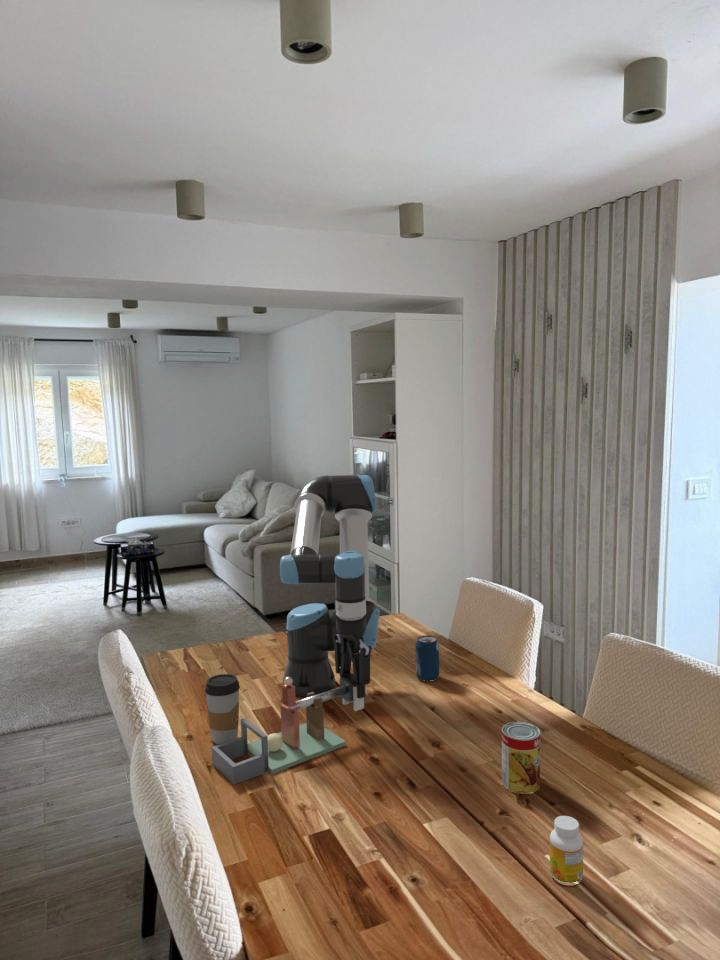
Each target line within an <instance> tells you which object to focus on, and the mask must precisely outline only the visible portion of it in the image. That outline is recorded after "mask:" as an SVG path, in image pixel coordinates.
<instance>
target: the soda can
mask: <svg viewBox="0 0 720 960" xmlns="http://www.w3.org/2000/svg"><path fill="white" fill-rule="evenodd" d="M414 649H415V675H416V678H417V679H418V678H419V679H420V680H419V679H418V680H419V681H421V680H425V681H430V680H435V679H436V680H437V679H438V678H439V676H440V643H439V642H438V638H437V637H436V636H433V635H420V636H418V637H417V639H416V642H415V648H414ZM436 680H435V681H436Z"/></svg>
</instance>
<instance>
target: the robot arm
mask: <svg viewBox="0 0 720 960" xmlns="http://www.w3.org/2000/svg"><path fill="white" fill-rule="evenodd" d="M293 509H294V513H295V520H294V527H293V534H292V538H291V539H292V540H291V547H290V552H289V553H290V554H287V555H282V556H281V558H280V559H279V561H280V563H279V576H280V580H281V582H282V583H283V584H289V585H307V584H308V585H311V584H314V585H315V584H334V593H335V603H334V609H328V606H327V605H326V604H325V603H319V602H317V603H315V602H314V603H308V604H303V605H299V606H297V607H295V608H292V610H290V612H288V614H287V616H286V630H287V631H286V634H287V659H288V660H287V664H286V667H285V671H284V675H283V677H282V685H285V684H284V679H285V678H286V677H291V678H292V679H293V684H292V685H293V686H295V696H297V697H307V696H306V694H307V693H310V692H314V694H315V695H317V694H320V693H323V692H326V691H330V690H333V689H335V686H336V676H335V673H336V674H338V675H339V679H340V678H341V677H344V676H347V675H350V674H354V679H355V684H353V701H352V702H348V701H347V700H345V699H343V698H341V699H342V704H343V706H345V705H349V704H350V703H352V704H353V711H354V712H357V711H360V710H363V709H365V697H364V696H365V695H364V685H365V686H366V685H369V684H370V683H371V654H372V650H374V649H375V648H376V646H377V643H378V634H379V633H378V632H379V622H380V612H381V611H380V608H375V607H376V605H375V602H374V601H373V600H372V599H371V598H370V576H369V574H370V573H369V571H370V570H369V538H368V537H369V536H368V535H369V533H368V532H369V530H368V527H369V525H368V522H369V521H370V520H371V519H372V517H373V513H375V512H376V511H377V500H376V492H375V486H374V481H373V478H372V477H371V476H370V475H368V474H367V475H366V474H358V473H356V474H347V475H346V474H345V475H344V474H343V475H342V474H341V475H340V474H339V475H337V474H336V475H321V476H317V477H315V478H313V479H310V480H309V481H308V482H306V484H304V485H303V486H302V487H301V488H300V490H299V491H298V492H297V494H296V496H295V499H294V504H293ZM325 513H333V514H334V518H335V520H337V521H338V523H339V553H331V554H328V553H327V554H326V553H325V554H319V548H320V536H321V525H322V517H323V516H324V515H325ZM329 652H334V662H335V663H334V664H335V673H334V670H333V668H332V665H331V663H330V659H329ZM351 670H352V672H353V673H352V672H351Z"/></svg>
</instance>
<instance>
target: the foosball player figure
mask: <svg viewBox="0 0 720 960" xmlns="http://www.w3.org/2000/svg"><path fill="white" fill-rule="evenodd" d="M314 695H315V694H314V692H310V693H307V694H306V696H305V697H306V698H308V697H311V696H314ZM305 713H306V714H305V715H306V717H305V718H306V719H305V721H306V723H307V733H308V734H309V735H311V736H312V737H314V738H315V739H317V740H321V739H324V727H325V716H324V715H325V714H324V713H325V712H324V707H323V702H322V697H321V696H320V697H317V698H314V705H311V706H308V707H305Z"/></svg>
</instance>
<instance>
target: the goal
mask: <svg viewBox="0 0 720 960" xmlns="http://www.w3.org/2000/svg"><path fill="white" fill-rule="evenodd" d="M248 730H250V731H251V732H252V733H253V734H255V735H256V736H257V737H258V738H260V739H261V742H262V754H260V755H258V756H255V757H249V758H247V759H245V760H242V761H239V762H236V763H235V762H234V761H233V760H234V759H237V758H239V757H243V756H245V755H247V754H248ZM240 735H241V736H240V737H237V739H234V740H231V741H228V742H225V743H222V744H216V745H214V746H211V763H212V765H213V766H214V767H215V769H217V770H218V771H219V772H220V773H221V774H222V775H224V777H226V779H227V780H229V781H230V783H231V784H233V786H234V785H237V784H240V783H243V782H245V781H248V780H249V779H253V778H255V777H257V776H260V775H263V774H266V773H268V772H269V763H268V738H267V737H268V735H267V734H266V733H264V732H263V731H262V730H261V729H259V728H258V727H257V726H255V724H253V723H251V722H250V721H249V720H248V719H246V718H245V717H244V718H241V719H240ZM248 755H249V754H248Z"/></svg>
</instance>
